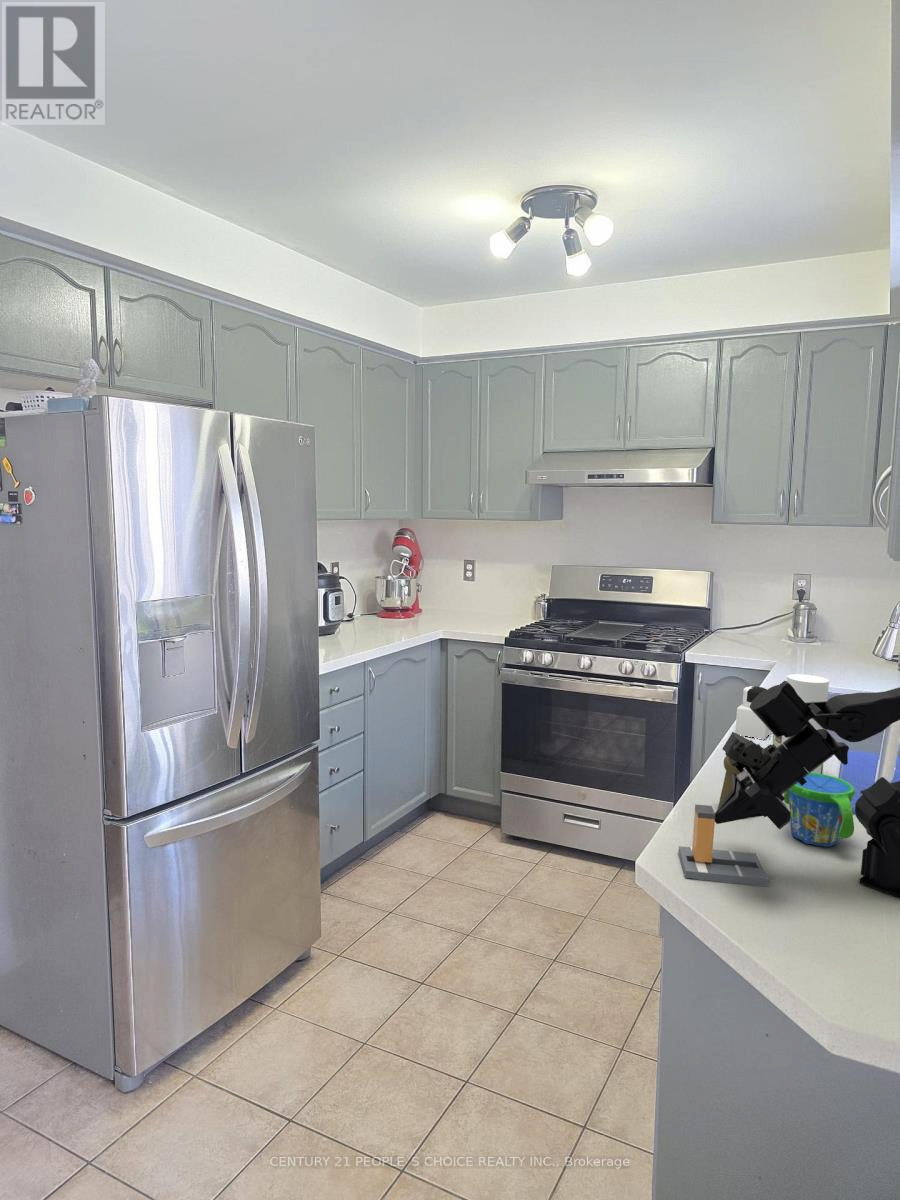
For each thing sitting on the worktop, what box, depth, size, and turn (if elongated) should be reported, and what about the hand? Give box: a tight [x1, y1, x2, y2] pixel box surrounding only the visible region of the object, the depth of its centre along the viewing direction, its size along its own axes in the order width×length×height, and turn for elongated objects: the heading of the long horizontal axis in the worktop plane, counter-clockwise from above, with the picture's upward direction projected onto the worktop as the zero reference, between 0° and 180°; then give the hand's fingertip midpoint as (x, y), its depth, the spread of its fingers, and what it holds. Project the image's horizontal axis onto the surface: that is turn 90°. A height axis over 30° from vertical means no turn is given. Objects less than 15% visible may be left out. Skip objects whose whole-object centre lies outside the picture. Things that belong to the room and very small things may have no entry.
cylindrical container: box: [782, 673, 830, 811], centre depth 151 cm, size 7×7×25 cm
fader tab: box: [691, 804, 716, 863], centre depth 125 cm, size 2×4×9 cm
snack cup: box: [784, 772, 856, 847], centre depth 138 cm, size 16×10×10 cm
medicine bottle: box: [734, 685, 772, 740], centre depth 200 cm, size 7×7×12 cm
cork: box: [717, 755, 740, 809], centre depth 149 cm, size 6×6×11 cm
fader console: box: [677, 845, 770, 887], centre depth 125 cm, size 12×9×1 cm
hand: (714, 820), depth 125 cm, fingers closed, pressing on fader tab
